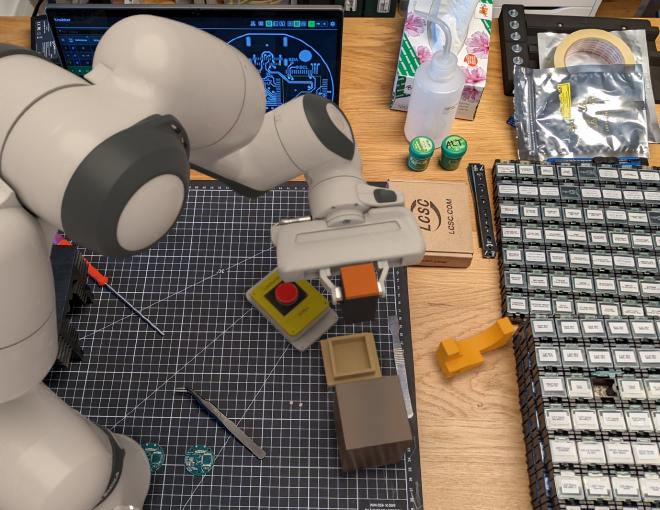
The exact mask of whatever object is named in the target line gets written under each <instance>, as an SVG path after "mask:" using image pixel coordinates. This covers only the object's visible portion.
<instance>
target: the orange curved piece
mask: <svg viewBox="0 0 660 510" xmlns="http://www.w3.org/2000/svg"><path fill="white" fill-rule="evenodd" d="M515 332H516V329H515V328H514V326H513V323H512V322H511V320H510V319H509V317H508V316H505V317H502V318H500V319H497V320H496V321H495V322H494V324H491V326H490V327H488V328H487V329H485V330H483V331H482V332H480V333H478V334H476V335H473V336H471V337H469V338H466V339H463V340H458V341H456V340H454V337H449V338H447V339H444V340H441V341H440V342H439V345H438V347H437V349H436V352H435V353H434V357H435V360H436V361H437V363H438V365H439V367H440V369H441V372H442V373H443V376H444V378H445V379H446V380H447V379H450V378H452V377H455V376H457V375H460V374H462V373H465V372H468V371H471V370H473V369H475V368H478V367H481V366H482V365H483V363H484V361H485V359H484V357H483V356H482V354H486V353H488V352H491V351H493V350H495V349H498V348H501V347H504V346H505V345H506V344H507V343H508V341H509V340H510V338H511V337H512V335H514V333H515Z"/></svg>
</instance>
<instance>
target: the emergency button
mask: <svg viewBox="0 0 660 510" xmlns="http://www.w3.org/2000/svg"><path fill="white" fill-rule="evenodd" d="M245 298H246V300H247V301H248V302H249V303H250V304H251V305H252V306H253V307H254V308H255V309H256V310H257V311H258V312H259V313H260V314H261V315H262V316H263V317H264V318H265V319H266V320H267V321H268V322H269V323H270V324H271V325H272V327H274V329H276V330H277V331H278V332H279V333H280V334H281V335H282V336H283V338H285V339H286V341H287V342H289V344H290V345H292V346H293V347H294V348H295V349H296V350H297V351H299V352H302V353H303V352H306V351H307V350H308V349H309V348H310V347H311V346H313V344H315V343H316V342H317V341H318V340H319V339H320V338H322V336H323V335H325V333H327V332H328V331H329V330H330V329H331V328H332V327H334V325H336V324H337V323H338V321H339V315H338V313H337V312H336V311H335V310H334V309H333V308H331V306H330V302H329V300H328V299H327V298H326V297H325V296H324V295H323V294H322V293H321V292H320V291H319V290H317V288H315V287H314V286H313V285H312V284H311V283H310V282H309V280H302V281H295V282H284V281H283V280H282V279H281V278H279V275H278V268H277V266H276V267H274V268H273V269H272V270H271V271H270V272H268V273H267V274H266V275H265V276H263V278H261V279H260V280H258V282H256V283H255V284H254V285H253V286H251V287H250V288H249V289H248V290H247V291H246V292H245Z"/></svg>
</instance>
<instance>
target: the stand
mask: <svg viewBox="0 0 660 510" xmlns="http://www.w3.org/2000/svg"><path fill="white" fill-rule="evenodd" d="M333 391H334V393H333V407H332V408H333V409H332V416H333V417H332V419H333V425H334V430H335V436H336V443H337V449H338V455H339V461H340V467H341V472H342V473H350V472H355V471H361V470H366V469H367V470H368V469H373V468H379V467H384V466H385V467H386V466H390V465H398V464H400V463H401V462H402V460H403V458H404V456H405V454H406V452H407V451H408V449H409V447H410V446H411V443H412V442H413V440H414V437H413V433H412V428H411V424H410V419H409V415H408V411H407V407H406V402H405V397H404V393H403V387H402V384H401V379H400V374H393V375H385V376H382V377H380V378H373V379H367V380H360V381H353V382H347V383H340V384H335V386H334V390H333Z"/></svg>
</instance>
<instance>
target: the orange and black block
mask: <svg viewBox="0 0 660 510" xmlns="http://www.w3.org/2000/svg"><path fill="white" fill-rule="evenodd" d="M377 282H378V278H377V274H376V270H374V266H373V263H370V264H362V265H355V266H348V267H341V269H340V275H339V287H342V293H343V297H344V303H343V304H339V305H340V310H341V315H342V320H343V325H344V326H347V325H354V324H361V323H366V322H367V323H368V322H373V321H375V319H376V313H377V309H378V302H379V298H378V297H379V288H378V283H377Z"/></svg>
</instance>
